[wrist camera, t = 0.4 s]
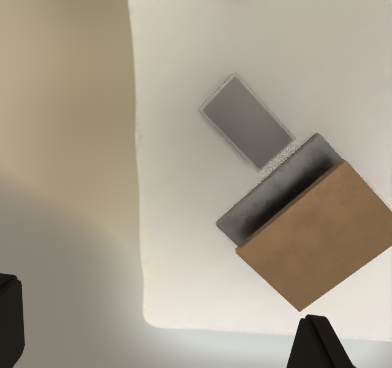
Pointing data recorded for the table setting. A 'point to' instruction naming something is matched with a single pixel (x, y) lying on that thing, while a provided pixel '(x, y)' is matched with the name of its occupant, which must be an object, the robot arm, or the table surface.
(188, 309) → the table surface
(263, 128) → the block
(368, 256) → the cardboard on grey plate
